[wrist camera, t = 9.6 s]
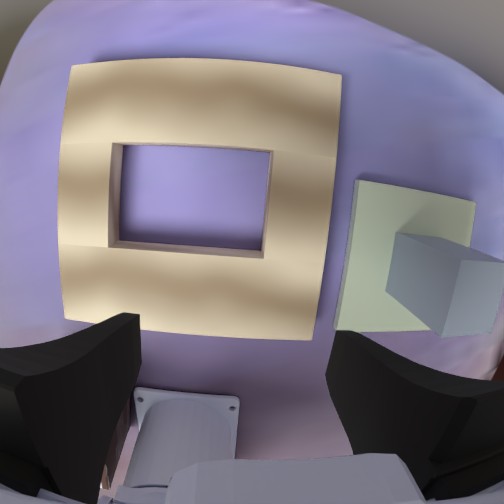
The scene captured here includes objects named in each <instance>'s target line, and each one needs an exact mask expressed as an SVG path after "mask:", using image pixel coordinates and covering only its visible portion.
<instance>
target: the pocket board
mask: <svg viewBox="0 0 504 504" xmlns="http://www.w3.org/2000/svg"><path fill="white" fill-rule="evenodd" d="M341 83H342V75H339V74H334V73H329V72H324V71H318V70H313V69H307V68H300V67H294V66H287V65H279V64H271V63H262V62H252V61H240V60H226V59H205V58H153V59H132V60H118V61H107V62H97V63H89V64H81V65H74V66H72V68H71V73H70V78H69V84H68V90H67V96H66V103H65V110H64V117H63V126H62V135H61V146H60V159H59V176H58V246H59V264H60V277H61V288H62V297H63V306H64V314H65V319H71V320H77V321H84V322H90V323H97V324H98V323H100V322H102V321H104V320H106V319H108V318H110V317H113V316H115V315H117V314H120V313H123V312H127V313H134V314H140V329H143V330H152V331H161V332H171V333H181V334H193V335H205V336H219V337H235V338H253V339H278V340H312V336H313V330H314V325H315V319H316V313H317V307H318V301H319V295H320V288H321V282H322V275H323V269H324V262H325V255H326V247H327V240H328V232H329V224H330V216H331V207H332V198H333V189H334V179H335V169H336V158H337V146H338V133H339V119H340V102H341ZM123 145H156V146H187V147H207V148H223V149H236V150H248V151H259V152H270V158H269V169H268V180H267V191H266V202H265V213H264V223H263V234H262V245H261V251H258V250H244V249H230V248H216V247H202V246H188V245H174V244H160V243H146V242H132V241H119V212H120V186H121V169H122V155H123Z"/></svg>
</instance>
